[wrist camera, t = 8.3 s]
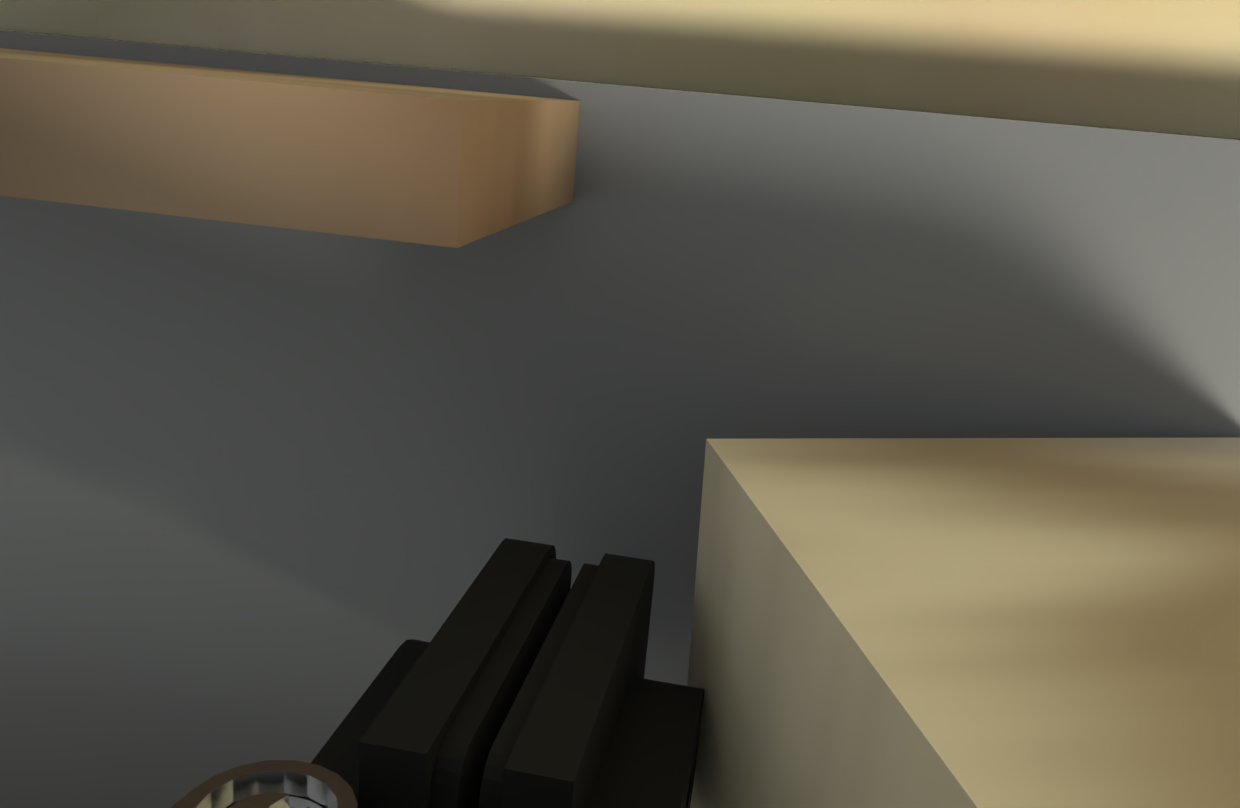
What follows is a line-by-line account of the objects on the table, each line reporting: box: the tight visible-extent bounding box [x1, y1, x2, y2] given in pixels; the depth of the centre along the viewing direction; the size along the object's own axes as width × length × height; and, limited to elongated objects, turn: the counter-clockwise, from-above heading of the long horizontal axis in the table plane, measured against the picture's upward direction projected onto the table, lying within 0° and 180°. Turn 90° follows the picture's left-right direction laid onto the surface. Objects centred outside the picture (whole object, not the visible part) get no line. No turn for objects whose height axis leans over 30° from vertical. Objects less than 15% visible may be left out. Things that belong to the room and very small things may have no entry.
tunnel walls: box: [0, 48, 580, 248], centre depth 12 cm, size 12×12×4 cm
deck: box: [0, 30, 1240, 808], centre depth 15 cm, size 33×13×2 cm, turn 85°
